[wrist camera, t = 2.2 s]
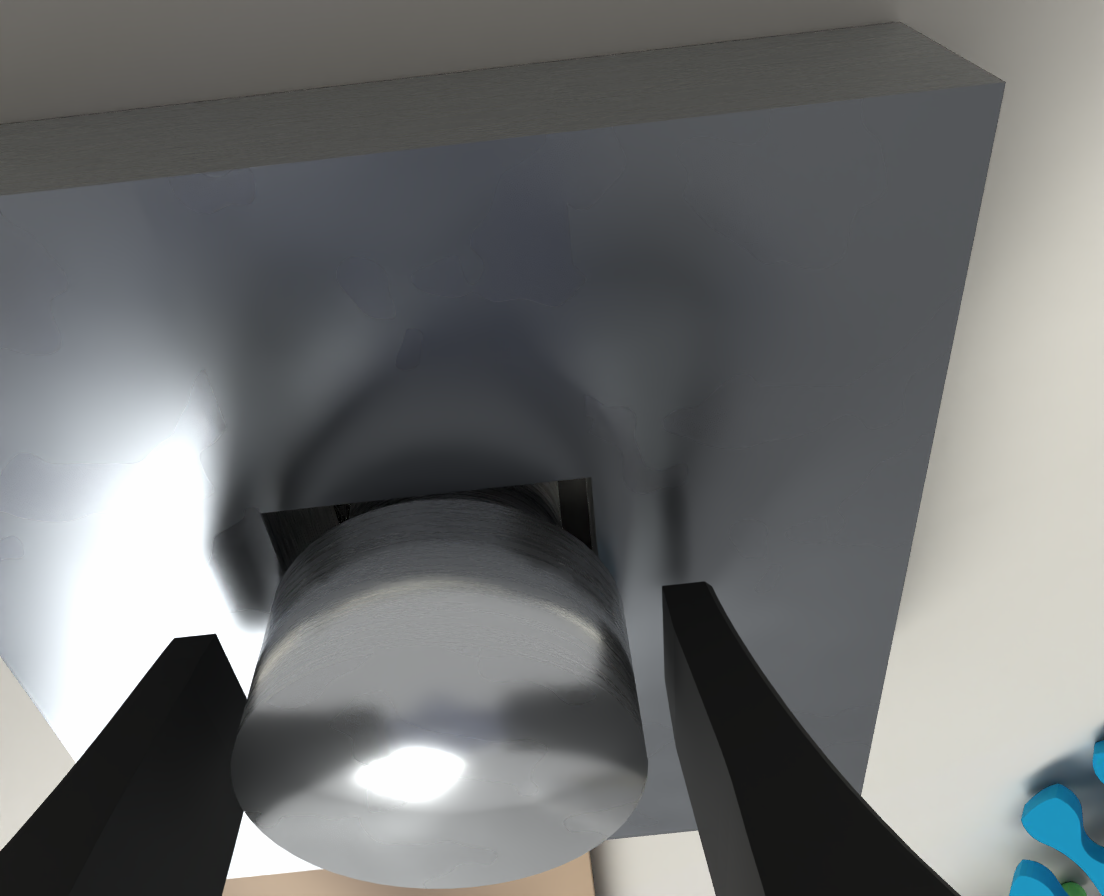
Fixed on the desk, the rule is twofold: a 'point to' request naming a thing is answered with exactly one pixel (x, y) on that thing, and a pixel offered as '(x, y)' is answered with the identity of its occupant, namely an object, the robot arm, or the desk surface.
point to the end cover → (443, 695)
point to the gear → (1060, 839)
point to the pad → (322, 892)
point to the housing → (492, 351)
